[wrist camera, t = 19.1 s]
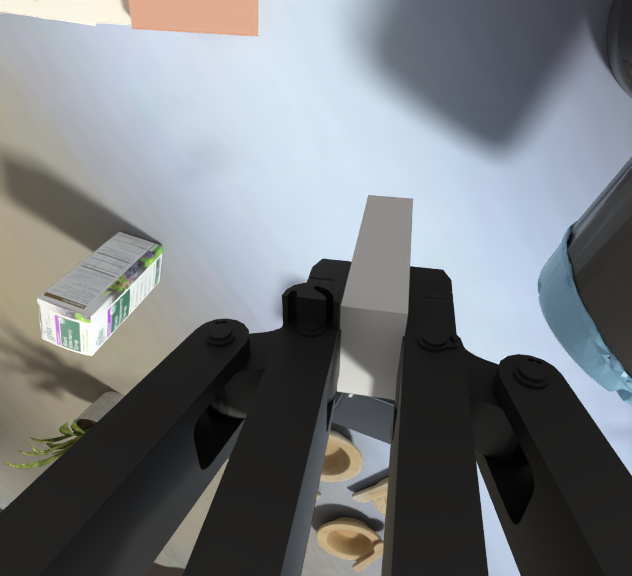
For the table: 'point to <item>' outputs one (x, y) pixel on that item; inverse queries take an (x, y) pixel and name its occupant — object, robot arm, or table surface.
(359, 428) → the small box
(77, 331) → the syrup box
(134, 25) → the domino
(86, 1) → the domino
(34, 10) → the domino
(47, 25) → the table surface
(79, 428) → the house plant
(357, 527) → the tableware set
